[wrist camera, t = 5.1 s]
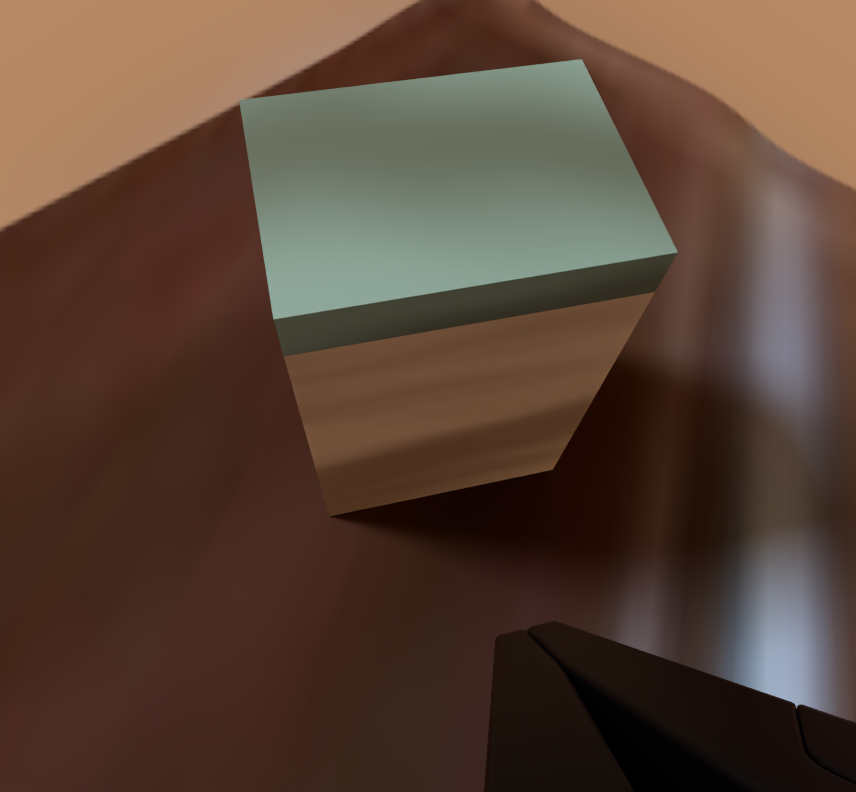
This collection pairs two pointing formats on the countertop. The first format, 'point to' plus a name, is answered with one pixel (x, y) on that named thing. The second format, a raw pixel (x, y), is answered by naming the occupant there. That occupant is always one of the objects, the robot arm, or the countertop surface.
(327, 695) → the countertop surface
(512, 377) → the birch block
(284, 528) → the countertop surface
